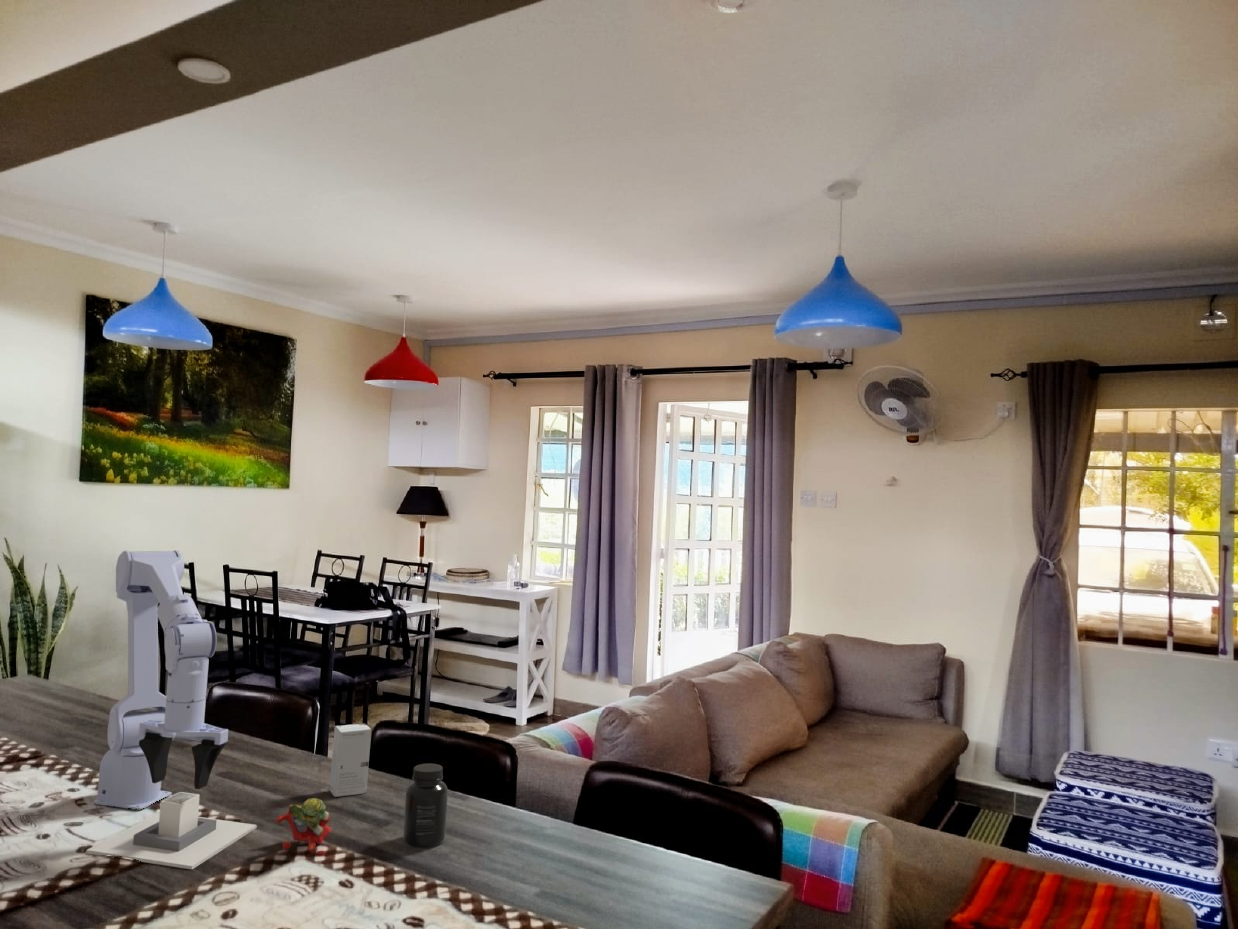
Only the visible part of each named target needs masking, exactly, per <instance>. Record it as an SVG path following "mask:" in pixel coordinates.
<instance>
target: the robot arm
mask: <svg viewBox="0 0 1238 929" xmlns="http://www.w3.org/2000/svg"><path fill="white" fill-rule="evenodd" d="M184 572H185V561H184V557H183V554H182V553H181V552H180V551H179V550H171V551H169V550H168V551H166V550H164V551H162V550H159V551H157V550H156V551H142V550H141V551H129V550H124V551H122V552H121V553H120V554H119V555H118V557H117V561H116V566H115V592H116V598H117V599H119V600H121V601H123V602H125V603H126V609H127V610H126V611H127V694H126V695H125V696H124V697H123V698H121V699H120V700H119V701H117V702H116V703H115V704H114V705H113V706H112V708H111V709H110V711H109V720H108V724H107V730H106V731H107V732H106V733H107V738H106V739H107V745H108V747H109V750H107V752H106V753H105V754H104V755H103V757H102V759H101V761H100V765H99V771H98V782H97V783H98V784H97V797H96V799H95V800H93V804H94V805H100V804H103V805H102V806H107V805H108V807H114V806H115V807H116V808H120V809H121V808H123V809H128V808H132V809H131V810H135V809H137V810H136V811H140V810H141V809H142V810H144V809H146V808H147V807H149V805H150V806H152V805H153V803H154V804H156V803H157V802H156V801H158V802H160V801H162V800H164V799H166V798H169V797H170V796H172V792H171V791H166V790H161V788H162V787H161V786H162V781H164V780H165V779H166V776H167V775H166V774H167V770H168V758H169V753H170V749H171V745H172V742H173V741H174V739H182V740H191V741H197V742H201V743H197V744H195V745H193V746H191V752H192V755H193V761H194V778H193V779H194V780H193V781H194V785H193V786H194V789H195V790H201V789H202V788H204V787H206V786H207V785H208V783H209V779H210V776H211V772H212V770H213V767H214V765H215V764H216V761H217V759H218V758H219V756H220V754H221V752H222V751H223V749H224V748H225V746H226V744H227V742H228V741H229V739H228V738H229V729H228V728H220V727H218V726H214V725H212V724H208V723H205V717H206V716H205V715H206V713H205V712H206V703H207V702H206V699H207V689H208V688H207V687H208V676H209V675H208V674H209V665H210V664H209V661H210V659H209V658H212V657H213V656H214V655H215V652H216V649H217V642H218V641H217V640H218V638H217V630H216V627H215V624H214V622H212V621H208V620H207V619H204V618H202V616H201V614H200V612H199V610H198V608H197V606H196V603H195V601H194V599H193V598H192V597H191V596H190V595H187V594H184V593H183V589H182V586H181V581H182V579H183V576H184ZM158 622H159V623H160V625H161V628H162V630H163V632H164V634H165V638H164V655H165V670H166V671H167V682H166V695H164V694H163V693H162V692H159V640H158V639H159V638H158V637H159V634H158V632H159V630H158V629H159V627H158ZM145 709H156V710H147V711H141V712H132V713H128V712H131V711H136V710H137V711H138V710H145ZM169 795H170V796H169ZM165 797H166V798H165ZM163 798H164V799H163ZM161 799H162V800H161ZM159 800H160V801H159ZM155 802H156V803H155ZM151 804H152V805H151ZM143 808H144V809H143ZM142 810H141V811H142Z"/></svg>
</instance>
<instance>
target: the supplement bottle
mask: <svg viewBox="0 0 1238 929" xmlns="http://www.w3.org/2000/svg"><path fill="white" fill-rule="evenodd" d="M443 771H444V769H443V766H442V765H440V764H437V763H421V764H418V765H416V766H414V767H413V771H412V772H413V775H412V781H413V782H411V783H410V784H408V786H407V788H406V790H405V802H404V819H403V821H404V822H403V837H402V838H403V841H404V843H405V844H406V846H409V847H412V848H415V849H416V848H417V849H428V848H429V849H430V848H432V847H434V848H435V847H436V846H439V845H441V844H442V843H443V842H444V841H445V839H446V838H445V837H446V829H447V828H446V827H447V826H446V824H447V812H448V811H447V809H448V795H449V794H448V791H449V790H448V786H447V785H446V783H445V782H444V781H442V780H443V778H444V776H443Z"/></svg>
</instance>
